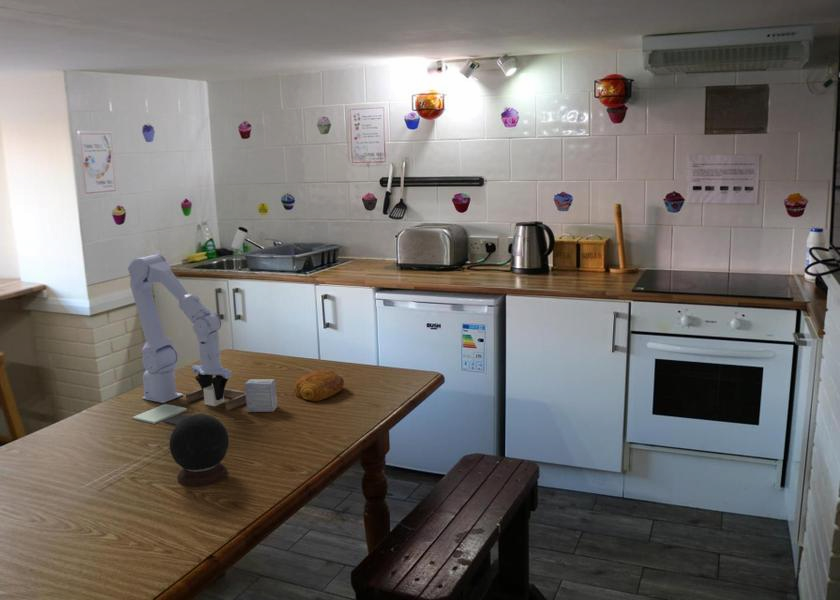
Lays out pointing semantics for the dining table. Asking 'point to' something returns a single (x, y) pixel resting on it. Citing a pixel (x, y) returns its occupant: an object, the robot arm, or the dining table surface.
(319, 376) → the croissant
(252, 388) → the medicine box
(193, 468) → the black smart speaker
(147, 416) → the pad
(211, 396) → the cream block
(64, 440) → the dining table surface
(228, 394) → the brown u-shaped bracket
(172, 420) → the trap tile
